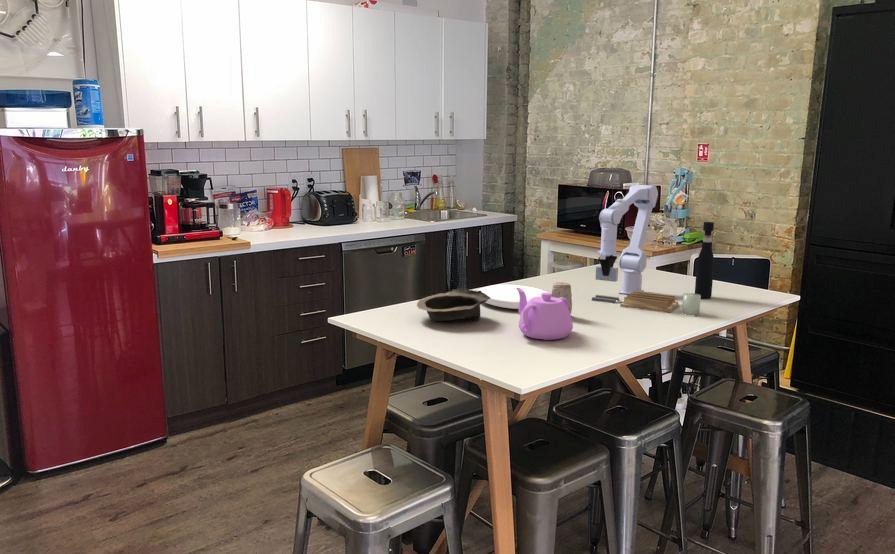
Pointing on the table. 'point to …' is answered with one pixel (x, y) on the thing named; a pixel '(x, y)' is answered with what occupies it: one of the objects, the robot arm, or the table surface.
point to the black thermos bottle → (705, 264)
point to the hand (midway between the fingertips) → (606, 275)
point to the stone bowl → (454, 305)
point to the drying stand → (605, 298)
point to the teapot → (544, 317)
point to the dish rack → (650, 301)
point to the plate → (509, 295)
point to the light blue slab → (612, 276)
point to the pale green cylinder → (691, 304)
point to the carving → (563, 292)
